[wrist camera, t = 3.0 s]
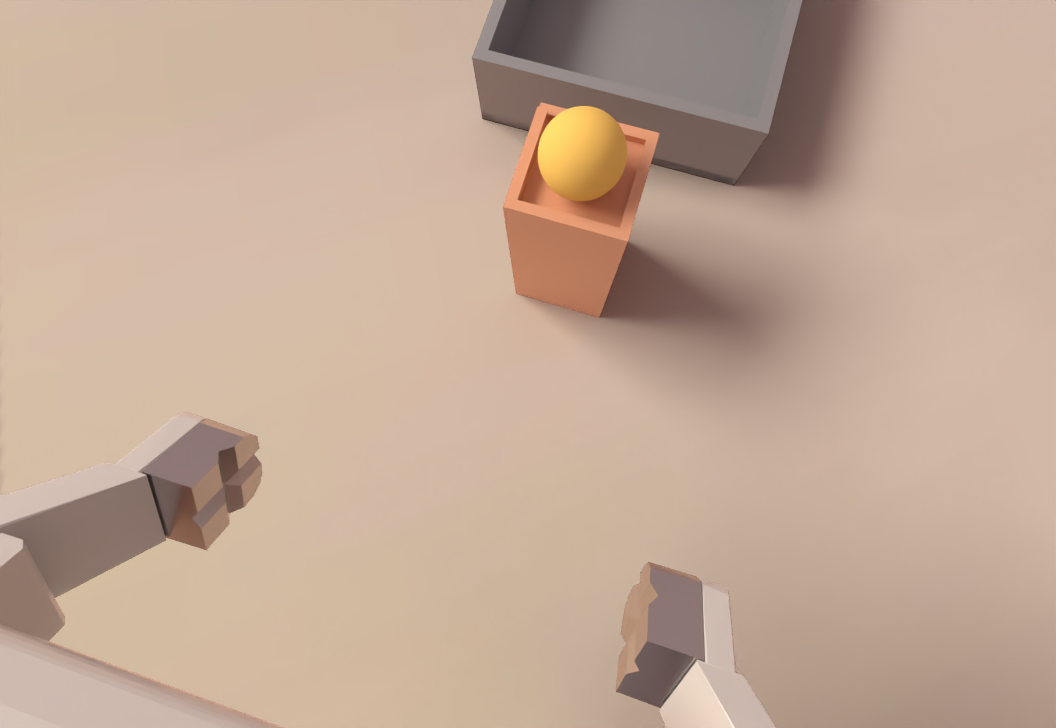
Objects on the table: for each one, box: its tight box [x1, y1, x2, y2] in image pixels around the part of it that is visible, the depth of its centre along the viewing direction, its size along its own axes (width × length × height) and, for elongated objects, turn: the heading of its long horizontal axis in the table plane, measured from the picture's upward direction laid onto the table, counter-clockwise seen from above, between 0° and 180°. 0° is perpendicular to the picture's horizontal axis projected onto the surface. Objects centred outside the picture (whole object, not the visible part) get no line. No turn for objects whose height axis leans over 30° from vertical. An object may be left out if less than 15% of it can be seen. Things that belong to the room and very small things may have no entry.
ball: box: [538, 106, 627, 201], centre depth 18 cm, size 3×3×3 cm
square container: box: [503, 102, 659, 317], centre depth 24 cm, size 4×4×10 cm
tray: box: [472, 0, 802, 185], centre depth 29 cm, size 14×14×5 cm
